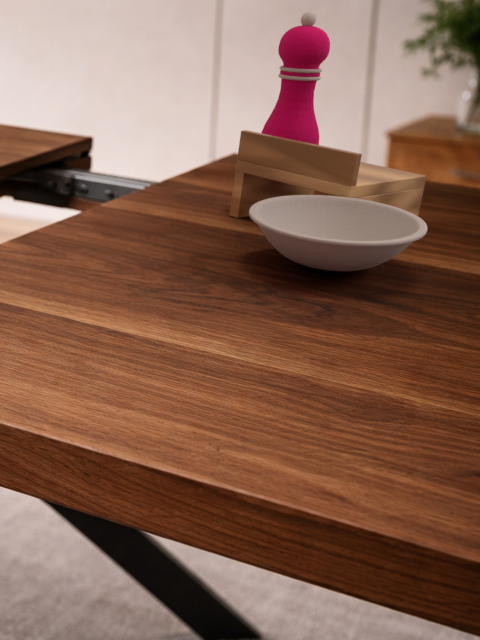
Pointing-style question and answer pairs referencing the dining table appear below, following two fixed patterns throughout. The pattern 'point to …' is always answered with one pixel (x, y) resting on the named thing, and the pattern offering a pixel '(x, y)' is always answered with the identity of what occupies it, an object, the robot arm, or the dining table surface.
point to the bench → (315, 174)
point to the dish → (336, 230)
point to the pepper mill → (299, 82)
